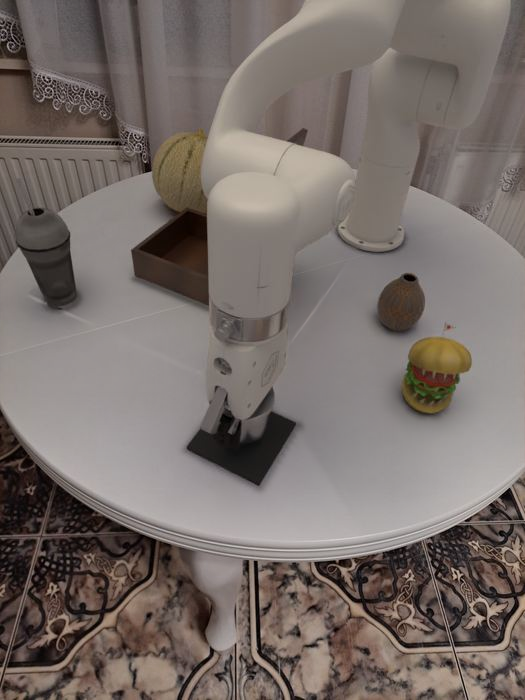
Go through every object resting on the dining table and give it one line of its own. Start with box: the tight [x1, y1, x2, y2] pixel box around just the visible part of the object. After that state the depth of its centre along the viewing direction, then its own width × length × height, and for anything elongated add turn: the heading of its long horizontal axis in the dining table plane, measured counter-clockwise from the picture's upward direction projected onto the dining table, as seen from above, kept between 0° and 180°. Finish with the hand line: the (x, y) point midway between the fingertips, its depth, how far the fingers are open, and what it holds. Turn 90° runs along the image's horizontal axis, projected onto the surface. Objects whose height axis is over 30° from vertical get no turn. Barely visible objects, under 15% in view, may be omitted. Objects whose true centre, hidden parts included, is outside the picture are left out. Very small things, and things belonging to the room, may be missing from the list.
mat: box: [186, 410, 297, 487], centre depth 63 cm, size 10×10×1 cm
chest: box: [130, 208, 209, 307], centre depth 84 cm, size 18×16×6 cm
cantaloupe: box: [151, 127, 208, 214], centre depth 95 cm, size 15×15×15 cm
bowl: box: [222, 387, 276, 444], centre depth 59 cm, size 7×7×5 cm
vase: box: [376, 272, 426, 331], centre depth 77 cm, size 7×7×9 cm
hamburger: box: [401, 321, 473, 414], centre depth 65 cm, size 8×7×12 cm
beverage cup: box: [14, 177, 77, 311], centre depth 72 cm, size 7×7×20 cm
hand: (243, 420), depth 61 cm, fingers closed on bowl, 7 cm apart
